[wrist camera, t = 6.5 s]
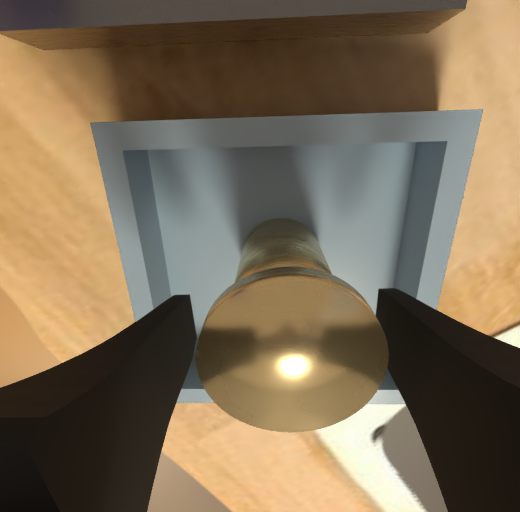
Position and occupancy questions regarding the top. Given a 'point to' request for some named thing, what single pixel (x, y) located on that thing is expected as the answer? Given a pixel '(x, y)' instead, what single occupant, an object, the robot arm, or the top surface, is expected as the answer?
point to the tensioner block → (212, 20)
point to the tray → (285, 202)
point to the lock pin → (290, 337)
